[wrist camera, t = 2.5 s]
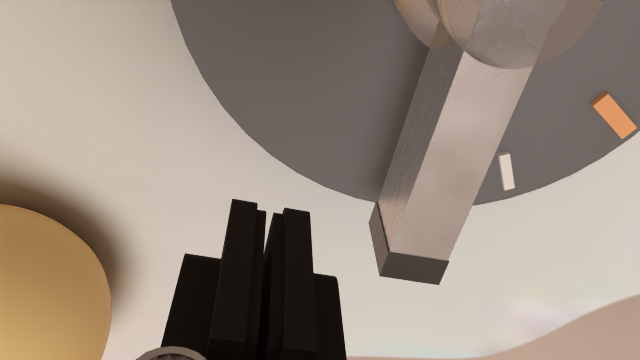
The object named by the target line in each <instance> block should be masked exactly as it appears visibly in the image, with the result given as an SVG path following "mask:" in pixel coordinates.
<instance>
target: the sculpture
mask: <svg viewBox="0 0 640 360" xmlns="http://www.w3.org/2000/svg"><path fill="white" fill-rule="evenodd" d="M110 324H111V295H110V289H109V285H108V281H107V278H106V275H105V272H104V270H103V267H102V265H101V263H100V261H99V260H98V258H97V256H96V255H95V254H94V252H93V251H92V250H91V248H90V247H89V246H88V245H87V244H86V243H85V242H84V241H83V240H82V239H81V238H79V237H78V236H77V235H76V234H75V233H73V232H72V231H71V230H69V229H68V228H66V227H65V226H63V225H61V224H60V223H58V222H56V221H54V220H53V219H51V218H49V217H47V216H44V215H42V214H40V213H37V212H34V211H32V210H28V209H25V208H21V207H17V206H12V205H5V204H0V360H101V358H102V355H103V353H104V350H105V347H106V343H107V340H108V335H109V330H110Z"/></svg>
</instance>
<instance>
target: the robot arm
mask: <svg viewBox="0 0 640 360" xmlns="http://www.w3.org/2000/svg"><path fill="white" fill-rule="evenodd" d="M265 224H266V211H261V210H257V203H254V202H248V201H242V200H236V199H232V203H231V209H230V214H229V219H228V225H227V230H226V236H225V241H224V246H223V252H222V257H221V259H218V258H212V257H205V256H199V255H192V254H186V253H185V255H184V258H183V262H182V266H181V270H180V274H179V278H178V282H177V285H176V289H175V293H174V297H173V301H172V305H171V309H170V313H169V316H168V320H167V324H166V328H165V332H164V336H163V340H162V344H161V347H160V348H156V349H154V350H151V351H148V352H146V353H144V354H143V355H142V356H140V357H139V358H137V359H136V360H347V359H346V351H345V342H344V333H343V324H342V315H341V306H340V297H339V288H338V281H337V278H336V277H335V276H329V275H322V274H316V273H313V258H312V240H311V223H310V212H307V211H301V210H295V209H289V208H284V210H283V214H279V213H273V217H272V221H271V225H270V229H269V234H268V238H267V242H266V247H265V251H264V240H265Z"/></svg>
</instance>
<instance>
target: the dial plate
mask: <svg viewBox="0 0 640 360" xmlns="http://www.w3.org/2000/svg"><path fill="white" fill-rule="evenodd" d="M171 3H172V7H173V10H174V13H175V16H176V18H177V21H178V24H179V26H180V29H181V32H182V35H183V37H184V40H185V43H186V45H187V47H188V49H189V51H190V53H191V55H192V57H193V59H194V61H195V63H196V65H197V67H198V69H199V71H200V73H201V75H202V77H203V78H204V80H205V81H206V83H207V84H208V86H209V87H210V89H211V90H212V92H213V93H214V95H215V96H216V97H217V99H218V100H219V102H220V103H221V105H222V106H223V108H224V109H225V110H226V111H227V112H228V113H229V114H230V116H231V117H232V118H233V119H234V120H235V121H236V122H237V123H238V125H239V126H240V127H241V128H242V129H243V130H244V131H245V132H246V134H248V135H249V136H250V137H251V138H252V139H253V140H254V141H256V142H257V143H258V144H259V145H260V146H261V147H263V148H264V149H265V150H266V151H267V152H268V153H269V154H271V155H272V156H273V157H275V158H276V159H278V160H279V161H281V162H282V163H284V164H285V165H287V166H288V167H290V168H291V169H293V170H294V171H296V172H297V173H299V174H301V175H303V176H305V177H307V178H309V179H311V180H313V181H315V182H317V183H319V184H321V185H322V186H324V187H327V188H329V189H332V190H335V191H338V192H341V193H343V194H346V195H349V196H352V197H354V198H358V199H363V200H367V201H371V202H375V203H376V201H377V202H378V199H379V196H380V193H381V190H382V187H383V184H384V181H385V178H386V175H387V172H388V169H389V166H390V164H391V161H392V158H393V155H394V152H395V149H396V146H397V143H398V140H399V137H400V134H401V131H402V128H403V125H404V122H405V119H406V116H407V113H408V111H409V108H410V105H411V102H412V99H413V96H414V93H415V90H416V87H417V84H418V81H419V78H420V75H421V72H422V69H423V66H424V63H425V61H426V58H427V55H428V52H429V49H430V48H429V47H428V46H426V45H425V44H424V43H423V42H422V41H420V40H419V39H418V38H417V37H416V36H415V34H414V33H413V32H412V31H411V30H410V28H409V27H408V25H407V23H406V22H405V20H404V19H403V17H402V15H401V14H400V12H399V11H398V9H397V7H396V6H395V4H394V2H393V0H171ZM639 131H640V0H605V1H604V3H603V6H602V8H601V10H600V12H599V14H598V16H597V17H596V19H595V20H594V22H593V23H592V25H591V26H590V28H589V29H588V30H587V31H586V32H585V34H584V35H583V36H582V37H581V38H580V39H579V40H578V41H577V42H576V43H575V44H574V45H572V46H571V47H570V48H569V49H567V50H566V51H565V52H563V53H562V54H560V55H558V56H557V57H555V58H553V59H551V60H549V61H547V62H545V63H542V64H539V65H536V66H533V69H532V71H531V73H530V75H529V78H528V80H527V82H526V84H525V87H524V89H523V91H522V93H521V96H520V98H519V100H518V102H517V105H516V107H515V109H514V112H513V114H512V116H511V118H510V121H509V123H508V125H507V127H506V130H505V132H504V134H503V136H502V139H501V141H500V143H499V146H498V148H497V150H496V152H495V155H494V157H493V159H492V161H491V164H490V166H489V168H488V170H487V173H486V175H485V177H484V180H483V182H482V184H481V186H480V189H479V191H478V193H477V195H476V198H475V200H474V202H473V204H472V206H473V205H480V204H485V203H489V202H494V201H499V200H503V199H508V198H512V197H515V196H518V195H521V194H524V193H527V192H530V191H533V190H536V189H539V188H542V187H544V186H547V185H549V184H551V183H554V182H556V181H558V180H560V179H563V178H565V177H567V176H570V175H572V174H574V173H575V172H577V171H579V170H581V169H583V168H584V167H586V166H588V165H590V164H592V163H593V162H595V161H597V160H599V159H601V158H602V157H604V156H605V155H607V154H608V153H610V152H611V151H613V150H614V149H615V148H617V147H618V146H620V145H621V144H623V143H624V142H626V141H627V140H628V139H630V138H631V137H633V136H634V135H635V134H636V133H637V132H639Z"/></svg>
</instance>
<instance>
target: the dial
mask: <svg viewBox="0 0 640 360" xmlns="http://www.w3.org/2000/svg"><path fill="white" fill-rule="evenodd" d="M604 1H605V0H393V2H394V4H395V6H396V7H397V9H398V11H399V12H400V14H401V15H402V17H403V19H404V20H405V22H406V23H407V25H408V27H409V28H410V30H411V31H412V32H413V33H414V34H415V36H416V37H417V38H418V39H419V40H420V41H422V42H423V43H424V44H425V45H426V46H428V47H429V48H430V49H429V52H428V55H427V58H426V61H425V63H424V66H423V69H422V72H421V75H420V78H419V81H418V84H417V87H416V90H415V93H414V96H413V99H412V102H411V105H410V108H409V111H408V113H407V116H406V119H405V122H404V125H403V128H402V131H401V134H400V137H399V140H398V143H397V146H396V149H395V152H394V155H393V158H392V161H391V164H390V166H389V169H388V172H387V175H386V178H385V181H384V184H383V187H382V190H381V193H380V196H379V199H378V202H377V201H376V203H375V206H374V209H373V212H372V215H371V218H370V221H369V227H370V232H371V236H372V241H373V246H374V251H375V256H376V261H377V266H378V271H379V275H380V276H383V277H389V278H396V279H403V280H409V281H416V282H422V283H429V284H436V285H439V283H440V281H441V279H442V277H443V274H444V272H445V270H446V268H447V265H448V263H449V261H448V259H449V257H450V254H451V252H452V250H453V247H454V245H455V243H456V241H457V238H458V236H459V234H460V232H461V229H462V227H463V225H464V223H465V220H466V218H467V216H468V213H469V211H470V209H471V207H472V204H473V202H474V200H475V198H476V195H477V193H478V191H479V189H480V186H481V184H482V182H483V180H484V177H485V175H486V173H487V170H488V168H489V166H490V164H491V161H492V159H493V157H494V155H495V152H496V150H497V148H498V146H499V143H500V141H501V139H502V136H503V134H504V132H505V130H506V127H507V125H508V123H509V121H510V118H511V116H512V114H513V112H514V109H515V107H516V105H517V102H518V100H519V98H520V96H521V93H522V91H523V89H524V87H525V84H526V82H527V80H528V78H529V75H530V73H531V71H532V69H533V66H536V65H539V64H542V63H545V62H547V61H549V60H551V59H553V58H555V57H557V56H558V55H560V54H562V53H563V52H565V51H566V50H567V49H569V48H570V47H571V46H572V45H574V44H575V43H576V42H577V41H578V40H579V39H580V38H581V37H582V36H583V35H584V34H585V32H586V31H587V30H588V29H589V28H590V26H591V25H592V23H593V22H594V20H595V19H596V17H597V16H598V14H599V12H600V10H601V8H602V6H603V3H604Z"/></svg>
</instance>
